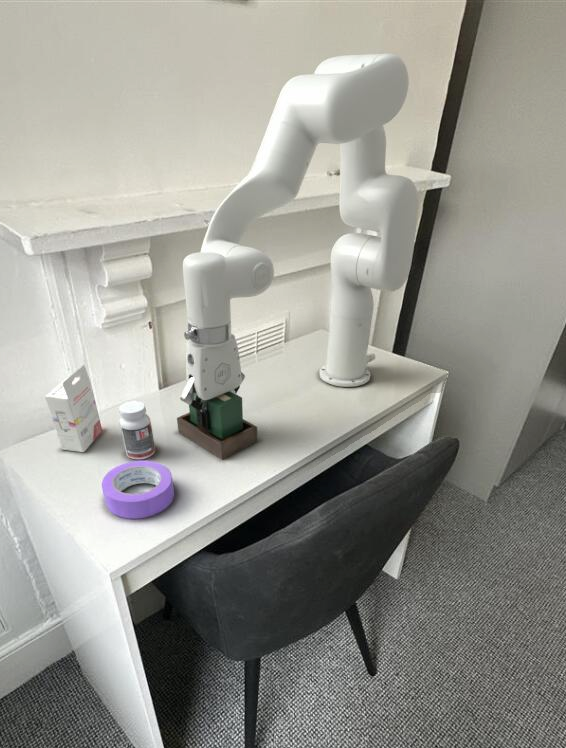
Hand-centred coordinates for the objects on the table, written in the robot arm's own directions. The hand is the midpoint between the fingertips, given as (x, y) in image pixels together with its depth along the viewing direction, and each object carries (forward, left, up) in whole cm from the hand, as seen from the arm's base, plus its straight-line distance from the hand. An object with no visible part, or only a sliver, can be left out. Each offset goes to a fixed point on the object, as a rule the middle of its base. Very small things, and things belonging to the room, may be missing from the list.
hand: (216, 420), depth 99 cm
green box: (0, 0, -1) cm, 1 cm away
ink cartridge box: (+20, -18, -4) cm, 28 cm away
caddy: (0, 0, -4) cm, 4 cm away
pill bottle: (+14, -6, -4) cm, 16 cm away
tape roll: (+22, +6, -4) cm, 24 cm away
